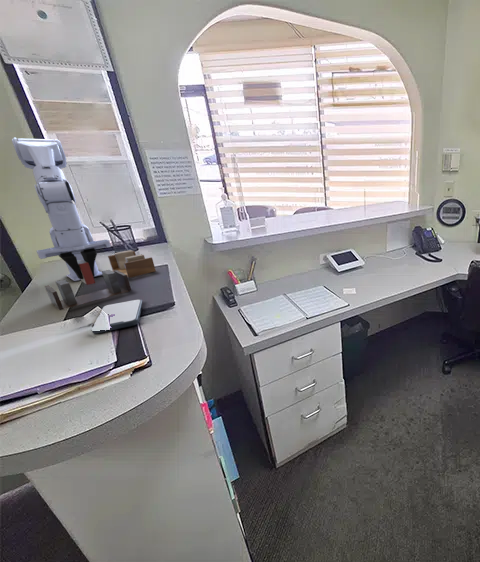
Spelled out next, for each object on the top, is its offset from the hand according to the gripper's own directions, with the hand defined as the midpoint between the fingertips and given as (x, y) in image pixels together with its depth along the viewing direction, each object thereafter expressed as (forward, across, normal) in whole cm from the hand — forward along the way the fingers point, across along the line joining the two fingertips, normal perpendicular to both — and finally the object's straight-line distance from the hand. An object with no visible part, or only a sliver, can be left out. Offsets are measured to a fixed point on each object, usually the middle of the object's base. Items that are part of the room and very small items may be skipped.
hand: (86, 277), depth 87 cm
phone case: (+7, 0, -20) cm, 21 cm away
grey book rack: (+7, 0, 0) cm, 7 cm away
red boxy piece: (+2, 0, 0) cm, 2 cm away
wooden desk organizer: (+7, +16, +18) cm, 25 cm away
